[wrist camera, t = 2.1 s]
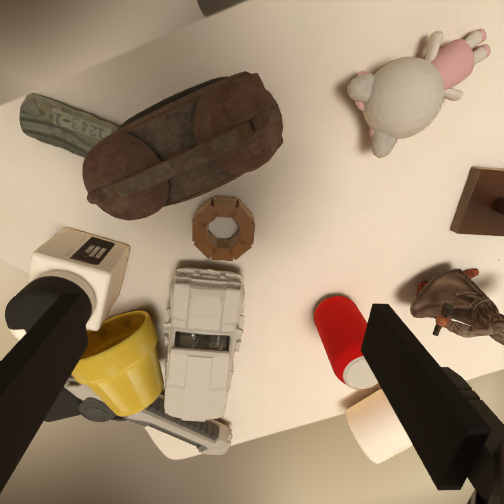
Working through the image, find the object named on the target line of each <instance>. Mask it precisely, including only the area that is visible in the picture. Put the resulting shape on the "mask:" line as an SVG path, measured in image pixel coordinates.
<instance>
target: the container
mask: <svg viewBox="0 0 504 504" xmlns="http://www.w3.org/2000/svg"><path fill="white" fill-rule="evenodd" d="M129 250H130V247H129V246H128V245H125V244H122V243H119V242H115V241H112V240H108V239H105V238H101V237H98V236H95V235H91V234H88V233H84V232H81V231H77V230H74V229H70V228H65V229H63V230H62V231H61V232H59V233H58V234H57V235H55V236H54V237H53V238H51V239H50V240H49V241H47V242H46V243H45V244H43V245H42V246H41V247H39V248H38V249H37V250H36V251H34V252H33V253H32V254H31V259H30V268H29V278H28V285H27V286H26V287H25V288H23V289H22V290H21V291H20V292H19V293H18V294H17V295H16V296H15V297H13V298H12V299H11V300H10V301H9V303H8V304H7V307H6V310H5V319H6V322H7V325H8V328H9V330H10V331H11V333H12V334H13V335H14V336H15V337H16V338H17V339H19V340H21V338H22V337H23V336H24V335H25V334H26V333H27V332H28V331H29V330H30V328H31V327H32V326H33V325H34V324H35V323H36V322H37V321H38V320H39V318H40V317H41V316H42V315H43V314H44V313H45V312H46V311H47V310H48V309H49V307H50V306H51V305H52V304H53V303H54V302H55V301H56V300H57V299H58V297H59V296H60V295H61V294H62V293H82V300H83V308H84V315H85V322H86V329H88V330H93V331H98V330H99V328H100V327H101V325H102V323H103V322H104V320H105V318H106V316H107V315H108V313H109V311H110V309H111V308H112V306H113V304H114V303H115V301H116V299H117V297H118V296H119V292H120V288H121V284H122V280H123V275H124V271H125V267H126V263H127V259H128V254H129Z"/></svg>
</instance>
